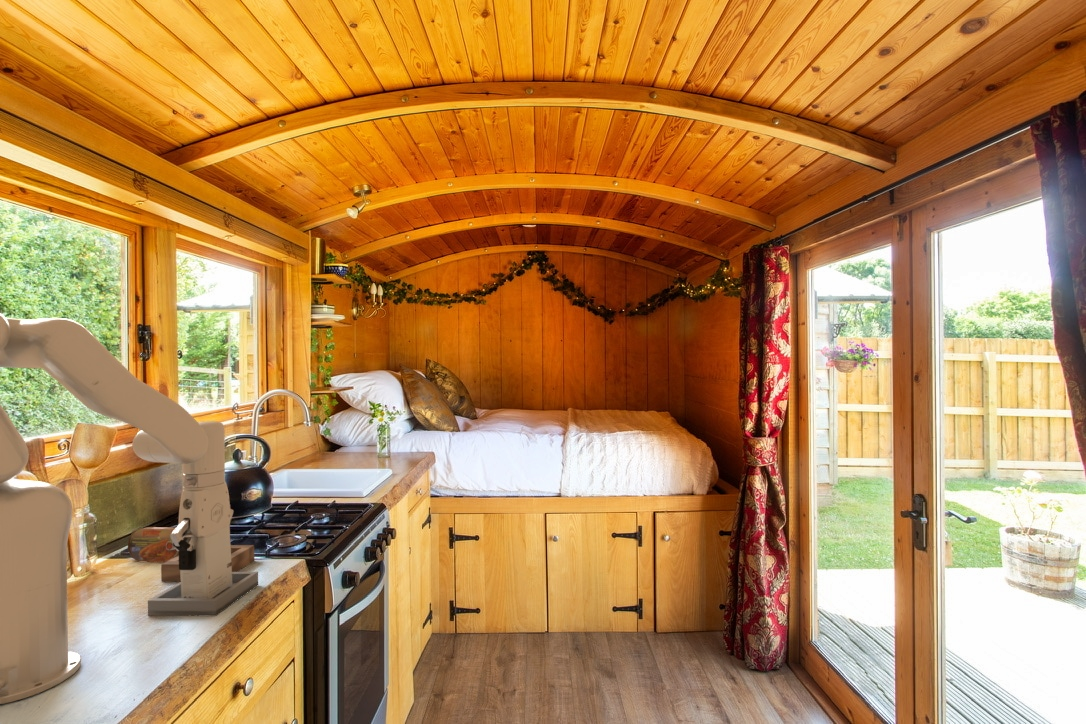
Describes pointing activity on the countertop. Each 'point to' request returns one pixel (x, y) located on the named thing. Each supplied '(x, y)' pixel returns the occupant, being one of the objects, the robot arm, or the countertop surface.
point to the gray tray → (177, 606)
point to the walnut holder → (239, 560)
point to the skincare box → (209, 566)
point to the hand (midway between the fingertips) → (204, 560)
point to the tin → (152, 544)
